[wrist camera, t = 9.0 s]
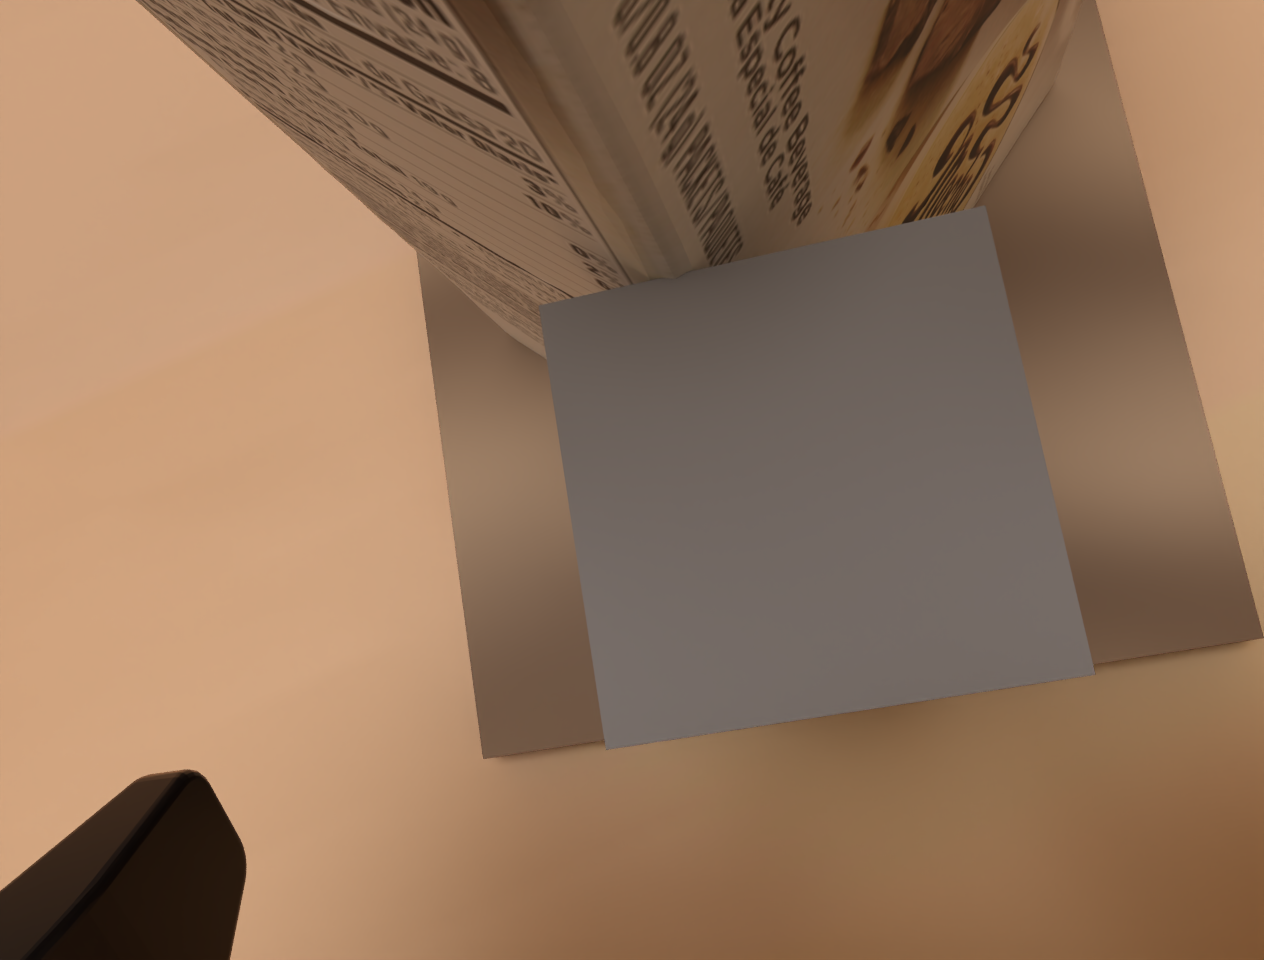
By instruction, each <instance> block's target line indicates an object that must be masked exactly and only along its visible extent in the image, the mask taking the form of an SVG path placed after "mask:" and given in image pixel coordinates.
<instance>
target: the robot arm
mask: <svg viewBox="0 0 1264 960" xmlns="http://www.w3.org/2000/svg"><path fill="white" fill-rule="evenodd" d="M245 879H246V856H245V851H244V847H243V844H242V842H241V840H240V838H239V836H238V834H237V832H236V831H235V829H234V827H233V825H232V823H231V821H230V820H229V818H228V816H227V814H226V812H225V811H224V809H223V807H222V805H221V803H220V802H219V800H218V798H217V796H216V794H215V792H214V791H213V789H212V787H211V785H210V783H209V782H208V780H207V779H206V778H205V777H204V776H203V775H202V774H200V773H199V772H197V771H194V770H179V771H171V772H164V773H157V774H150V775H147V776H143V777H141V778H139V779H137V780H136V781H134V782H133V783H132V784H130V785H129V786H128V787H127V788H126V789H124V790H123V791H122V792H121V793H119V794H118V795H117V796H116V797H115V798H113V799H112V800H111V801H110V802H108V803H107V804H106V805H105V806H104V807H102V808H101V809H100V810H99V811H97V812H96V813H95V814H94V815H93V816H91V817H90V818H89V819H88V820H86V821H85V822H84V823H83V824H82V825H80V826H79V827H78V828H77V829H75V830H74V831H73V832H72V833H71V834H69V835H68V836H67V837H66V838H64V839H63V840H62V841H61V842H60V843H58V844H57V845H56V846H55V847H53V848H52V849H51V850H50V851H49V852H47V853H46V854H45V855H44V856H42V857H41V858H40V859H39V860H38V861H36V862H35V863H34V864H33V865H31V866H30V867H29V868H28V869H27V870H25V871H24V872H23V873H22V874H20V875H19V876H18V877H17V878H16V879H14V880H13V881H12V882H11V883H9V884H8V885H7V886H6V887H5V888H3V889H2V890H1V891H0V960H230V956H231V951H232V946H233V941H234V936H235V930H236V925H237V920H238V915H239V910H240V905H241V900H242V895H243V890H244V885H245Z"/></svg>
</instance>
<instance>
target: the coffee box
mask: <svg viewBox="0 0 1264 960" xmlns="http://www.w3.org/2000/svg"><path fill="white" fill-rule="evenodd" d="M136 1H137V2H138V3H140V4H141V5H142V6H143V7H144V8H145V9H146V10H147V11H149V12H150V13H151V14H152V15H153V16H154V17H155V18H156V19H157V20H159V21H160V22H161V23H162V24H163V25H164V26H165V27H166V28H167V29H169V30H170V31H171V32H172V33H173V34H174V35H175V36H176V37H178V38H179V39H180V40H181V41H182V42H183V43H184V44H185V45H186V46H188V47H189V48H190V49H191V50H192V51H193V52H194V53H195V54H196V55H198V56H199V57H200V58H201V59H202V60H203V61H204V62H205V63H207V64H208V65H209V66H210V67H211V68H212V69H213V70H214V71H215V72H217V73H218V74H219V75H220V76H221V77H222V78H223V79H224V80H225V81H227V82H228V83H229V84H230V85H231V86H232V87H233V88H234V89H236V90H237V91H238V92H239V93H240V94H241V95H242V96H243V97H245V98H246V99H247V100H248V101H249V102H250V103H251V104H252V105H254V106H255V107H256V108H257V109H258V110H259V111H260V112H262V113H263V114H264V115H265V116H266V117H267V118H268V119H269V120H271V121H272V122H273V123H274V124H275V125H276V126H277V127H279V128H280V129H281V130H282V131H283V132H284V133H285V134H286V135H288V136H289V137H290V138H291V139H292V140H293V141H294V142H295V143H297V144H298V145H299V146H300V147H301V148H302V149H303V150H304V151H306V152H307V153H308V154H309V155H310V156H311V157H312V158H313V159H314V160H315V161H316V162H318V163H319V164H320V165H321V166H322V167H323V168H324V169H325V170H326V171H327V172H328V173H329V174H331V175H332V176H333V177H334V178H335V179H336V180H338V181H339V182H340V183H341V184H342V185H343V186H345V187H346V188H347V189H348V190H349V191H350V192H351V193H352V194H353V195H354V196H356V197H357V198H358V199H359V200H360V201H361V202H362V203H363V204H364V205H365V206H366V207H367V208H369V209H370V210H371V211H372V212H373V213H374V214H375V215H376V216H377V217H378V218H379V219H380V220H382V221H383V222H384V223H385V224H386V225H388V226H389V227H390V228H391V229H392V230H394V231H395V232H396V233H397V234H398V235H399V236H400V237H401V238H402V239H403V240H405V241H406V242H407V243H408V244H409V245H410V246H411V247H412V248H414V249H415V250H416V251H417V252H418V253H419V254H420V255H422V256H423V257H424V258H425V259H426V260H428V261H429V262H430V263H431V264H432V265H434V266H435V267H436V268H437V269H438V270H439V271H440V272H442V273H443V274H444V275H445V276H446V277H447V278H448V279H449V280H450V281H452V282H453V283H454V284H455V285H456V286H457V287H458V288H460V289H461V290H462V291H463V292H464V293H465V294H466V295H467V296H468V297H469V298H470V299H471V300H472V301H473V302H474V303H475V304H476V305H477V306H478V307H479V308H480V309H481V310H482V311H484V312H485V313H486V314H487V315H488V316H489V317H490V318H491V319H492V320H493V321H495V322H496V323H497V324H498V325H499V326H500V327H501V328H502V329H503V330H504V331H505V332H506V333H508V334H509V335H510V336H512V337H513V338H514V339H515V340H517V341H519V342H520V343H522V344H523V345H525V346H526V347H528V348H530V349H531V350H533V351H534V352H536V353H537V354H539V355H541V356H542V357H544V358H545V359H547V358H546V351H545V345H544V338H543V332H542V325H541V318H540V312H539V305H543V304H548V303H552V302H557V301H561V300H566V299H570V298H575V297H579V296H583V295H588V294H592V293H597V292H601V291H606V290H610V289H615V288H619V287H624V286H628V285H633V284H637V283H641V282H646V281H650V280H655V279H659V278H670V279H676V278H678V277H679V276H681V275H683V274H684V273H686V272H690V271H695V270H699V269H704V268H708V267H713V266H717V265H722V264H726V263H731V262H735V261H740V260H744V259H748V258H753V257H757V256H762V255H766V254H771V253H775V252H780V251H784V250H789V249H793V248H797V247H802V246H806V245H811V244H815V243H820V242H824V241H829V240H833V239H838V238H842V237H847V236H851V235H855V234H860V233H864V232H869V231H873V230H878V229H882V228H887V227H891V226H896V225H900V224H904V223H909V222H913V221H918V220H922V219H927V218H931V217H936V216H940V215H945V214H949V213H954V212H958V211H962V210H967V209H971V208H973V207H974V206H975V204H976V203H977V201H978V200H979V198H980V196H981V195H982V193H983V192H984V190H985V189H986V187H987V186H988V184H989V182H990V181H991V179H992V178H993V176H994V175H995V173H996V172H997V170H998V168H999V167H1000V165H1001V164H1002V162H1003V161H1004V159H1005V158H1006V156H1007V155H1008V153H1009V151H1010V150H1011V148H1012V147H1013V145H1014V144H1015V142H1016V141H1017V139H1018V138H1019V136H1020V134H1021V133H1022V131H1023V130H1024V128H1025V127H1026V125H1027V124H1028V122H1029V121H1030V119H1031V118H1032V116H1033V115H1034V113H1035V112H1036V110H1037V109H1038V107H1039V106H1040V104H1041V103H1042V101H1043V100H1044V98H1045V96H1046V95H1047V93H1048V92H1049V90H1050V89H1051V87H1052V85H1053V84H1054V82H1055V80H1056V78H1057V75H1058V73H1059V69H1060V66H1061V62H1062V59H1063V56H1064V53H1065V50H1066V47H1067V45H1068V42H1069V39H1070V36H1071V34H1072V30H1073V27H1074V24H1075V21H1076V18H1077V15H1078V12H1079V9H1080V6H1081V4H1082V1H1083V0H136Z"/></svg>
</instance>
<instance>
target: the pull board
mask: <svg viewBox="0 0 1264 960" xmlns="http://www.w3.org/2000/svg"><path fill="white" fill-rule="evenodd" d="M416 252H417V251H416ZM417 259H418V267H419V274H420V282H421V290H422V297H423V305H424V312H425V320H426V328H427V335H428V343H429V351H430V358H431V366H432V373H433V381H434V389H435V396H436V404H437V411H438V419H439V427H440V434H441V442H442V449H443V457H444V465H445V472H446V480H447V488H448V495H449V503H450V510H451V518H452V526H453V533H454V541H455V548H456V556H457V564H458V571H459V579H460V586H461V594H462V602H463V609H464V617H465V625H466V632H467V640H468V647H469V655H470V663H471V670H472V678H473V685H474V693H475V701H476V708H477V716H478V723H479V731H480V739H481V746H482V754H483V759H487V758H493V757H500V756H506V755H513V754H519V753H525V752H532V751H538V750H545V749H551V748H558V747H564V746H571V745H577V744H583V743H590V742H596V741H603V740H605V747H606V750H608V749H615V748H622V747H628V746H635V745H641V744H648V743H654V742H661V741H667V740H674V739H680V738H687V737H693V736H700V735H706V734H713V733H719V732H726V731H732V730H739V729H745V728H752V727H758V726H765V725H771V724H778V723H784V722H791V721H797V720H804V719H810V718H817V717H823V716H830V715H836V714H843V713H849V712H856V711H863V710H869V709H876V708H882V707H889V706H895V705H902V704H908V703H915V702H921V701H928V700H934V699H941V698H947V697H954V696H960V695H967V694H973V693H980V692H986V691H993V690H999V689H1006V688H1012V687H1019V686H1025V685H1032V684H1038V683H1045V682H1051V681H1058V680H1064V679H1071V678H1077V677H1084V676H1091V675H1095V670H1094V666H1093V664H1099V663H1106V662H1112V661H1119V660H1125V659H1132V658H1138V657H1145V656H1151V655H1158V654H1164V653H1170V652H1177V651H1183V650H1190V649H1196V648H1203V647H1209V646H1216V645H1222V644H1228V643H1235V642H1241V641H1248V640H1254V639H1261V638H1264V637H1263V633H1262V630H1261V626H1260V622H1259V618H1258V615H1257V611H1256V607H1255V603H1254V599H1253V596H1252V592H1251V588H1250V584H1249V580H1248V577H1247V573H1246V569H1245V565H1244V562H1243V558H1242V554H1241V550H1240V546H1239V543H1238V539H1237V535H1236V531H1235V527H1234V524H1233V520H1232V516H1231V512H1230V509H1229V505H1228V501H1227V497H1226V493H1225V490H1224V486H1223V482H1222V478H1221V474H1220V471H1219V467H1218V463H1217V459H1216V455H1215V452H1214V448H1213V444H1212V440H1211V437H1210V433H1209V429H1208V425H1207V421H1206V418H1205V414H1204V410H1203V406H1202V402H1201V399H1200V395H1199V391H1198V387H1197V384H1196V380H1195V376H1194V372H1193V368H1192V365H1191V361H1190V357H1189V353H1188V349H1187V346H1186V342H1185V338H1184V334H1183V331H1182V327H1181V323H1180V319H1179V315H1178V312H1177V308H1176V304H1175V300H1174V296H1173V293H1172V289H1171V285H1170V281H1169V277H1168V274H1167V270H1166V266H1165V262H1164V259H1163V255H1162V251H1161V247H1160V243H1159V240H1158V236H1157V232H1156V228H1155V224H1154V221H1153V217H1152V213H1151V209H1150V206H1149V202H1148V198H1147V194H1146V190H1145V187H1144V183H1143V179H1142V175H1141V171H1140V168H1139V164H1138V160H1137V156H1136V153H1135V149H1134V145H1133V141H1132V137H1131V134H1130V130H1129V126H1128V122H1127V118H1126V115H1125V111H1124V107H1123V103H1122V99H1121V96H1120V92H1119V88H1118V84H1117V81H1116V77H1115V73H1114V69H1113V65H1112V62H1111V58H1110V54H1109V50H1108V46H1107V43H1106V39H1105V35H1104V31H1103V28H1102V24H1101V20H1100V16H1099V12H1098V9H1097V5H1096V1H1095V0H1083V1H1082V4H1081V6H1080V9H1079V12H1078V15H1077V18H1076V21H1075V24H1074V27H1073V30H1072V34H1071V36H1070V39H1069V42H1068V45H1067V47H1066V50H1065V53H1064V56H1063V59H1062V62H1061V66H1060V69H1059V73H1058V75H1057V78H1056V80H1055V82H1054V84H1053V85H1052V87H1051V89H1050V90H1049V92H1048V93H1047V95H1046V96H1045V98H1044V100H1043V101H1042V103H1041V104H1040V106H1039V107H1038V109H1037V110H1036V112H1035V113H1034V115H1033V116H1032V118H1031V119H1030V121H1029V122H1028V124H1027V125H1026V127H1025V128H1024V130H1023V131H1022V133H1021V134H1020V136H1019V138H1018V139H1017V141H1016V142H1015V144H1014V145H1013V147H1012V148H1011V150H1010V151H1009V153H1008V155H1007V156H1006V158H1005V159H1004V161H1003V162H1002V164H1001V165H1000V167H999V168H998V170H997V172H996V173H995V175H994V176H993V178H992V179H991V181H990V182H989V184H988V186H987V187H986V189H985V190H984V192H983V193H982V195H981V196H980V198H979V200H978V201H977V203H976V204H975V206H974V207H973V208H971V209H967V210H962V211H958V212H954V213H949V214H945V215H940V216H936V217H931V218H927V219H922V220H918V221H913V222H909V223H904V224H900V225H896V226H891V227H887V228H882V229H878V230H873V231H869V232H864V233H860V234H855V235H851V236H847V237H842V238H838V239H833V240H829V241H824V242H820V243H815V244H811V245H806V246H802V247H797V248H793V249H789V250H784V251H780V252H775V253H771V254H766V255H762V256H757V257H753V258H748V259H744V260H740V261H735V262H731V263H726V264H722V265H717V266H713V267H708V268H704V269H699V270H695V271H690V272H686V273H684V274H683V275H681V276H679V277H678V278H676V279H670V278H659V279H655V280H650V281H646V282H641V283H637V284H633V285H628V286H624V287H619V288H615V289H610V290H606V291H601V292H597V293H592V294H588V295H583V296H579V297H575V298H570V299H566V300H561V301H557V302H552V303H548V304H543V305H539V312H540V318H541V325H542V332H543V338H544V345H545V351H546V358H547V359H545V358H544V357H542V356H541V355H539V354H537V353H536V352H534V351H533V350H531V349H530V348H528V347H526V346H525V345H523V344H522V343H520V342H519V341H517V340H515V339H514V338H513V337H512V336H510V335H509V334H508V333H506V332H505V331H504V330H503V329H502V328H501V327H500V326H499V325H498V324H497V323H496V322H495V321H493V320H492V319H491V318H490V317H489V316H488V315H487V314H486V313H485V312H484V311H482V310H481V309H480V308H479V307H478V306H477V305H476V304H475V303H474V302H473V301H472V300H471V299H470V298H469V297H468V296H467V295H466V294H465V293H464V292H463V291H462V290H461V289H460V288H458V287H457V286H456V285H455V284H454V283H453V282H452V281H450V280H449V279H448V278H447V277H446V276H445V275H444V274H443V273H442V272H440V271H439V270H438V269H437V268H436V267H435V266H434V265H432V264H431V263H430V262H429V261H428V260H426V259H425V258H424V257H423V256H422V255H420V254H419V253H418V252H417Z"/></svg>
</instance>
